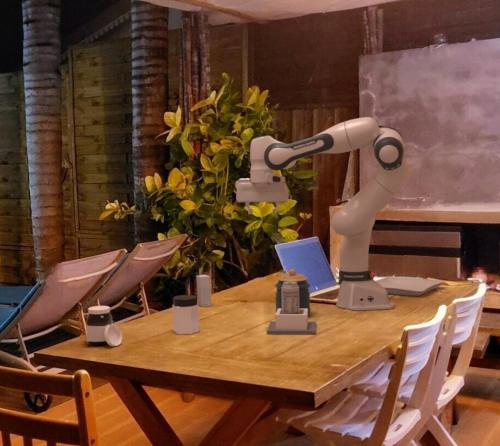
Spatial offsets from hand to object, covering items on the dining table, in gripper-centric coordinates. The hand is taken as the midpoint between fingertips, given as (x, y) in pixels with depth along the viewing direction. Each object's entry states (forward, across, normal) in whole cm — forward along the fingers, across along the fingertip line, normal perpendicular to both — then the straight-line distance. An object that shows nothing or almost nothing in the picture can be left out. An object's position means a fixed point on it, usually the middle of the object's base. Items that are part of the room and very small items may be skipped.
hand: (262, 213), depth 276 cm
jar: (+37, -23, -39) cm, 59 cm away
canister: (+37, +12, -14) cm, 42 cm away
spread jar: (+38, -46, -56) cm, 82 cm away
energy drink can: (+36, +13, -35) cm, 52 cm away
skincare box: (+37, -25, +5) cm, 45 cm away
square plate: (+38, +57, +38) cm, 78 cm away
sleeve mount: (+37, +13, -35) cm, 53 cm away
